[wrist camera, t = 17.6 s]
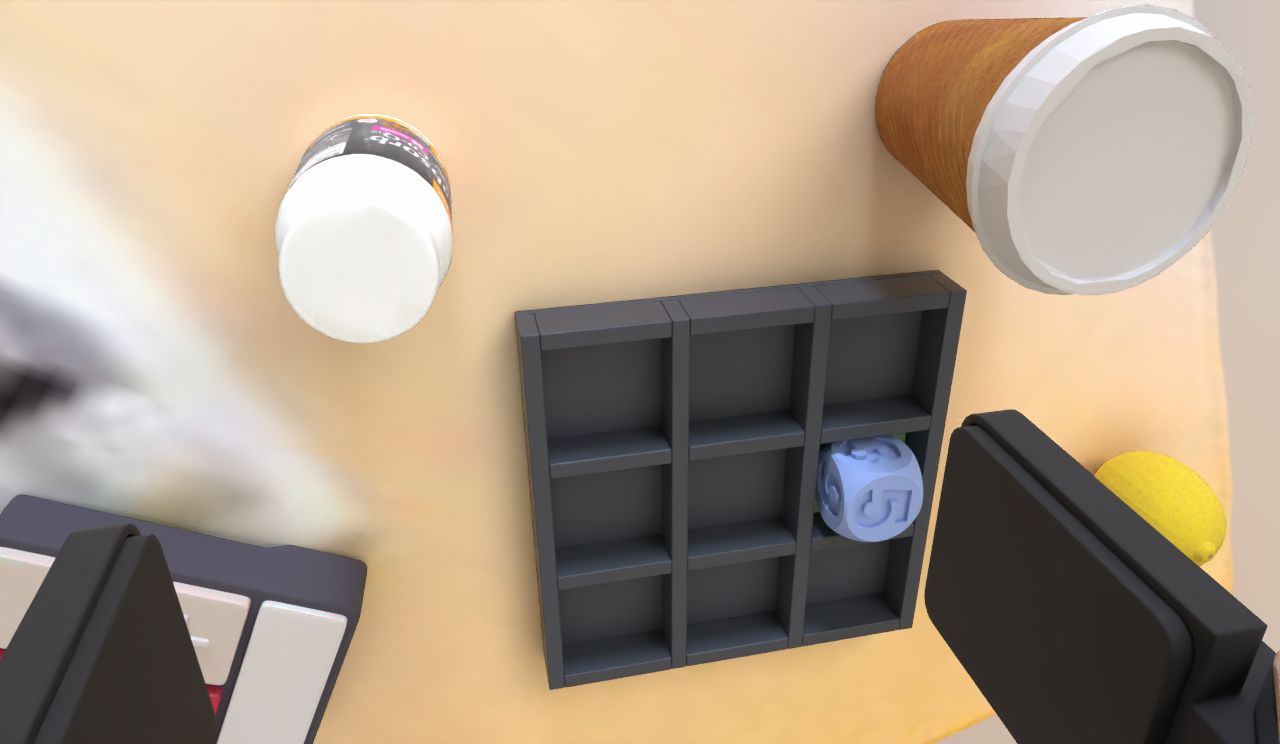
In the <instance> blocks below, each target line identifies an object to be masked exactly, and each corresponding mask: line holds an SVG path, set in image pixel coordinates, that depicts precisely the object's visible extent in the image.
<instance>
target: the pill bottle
mask: <svg viewBox="0 0 1280 744" xmlns="http://www.w3.org/2000/svg"><path fill="white" fill-rule="evenodd" d="M275 239H276V247H277V252H278V256H279V269H278V270H279V278H280V283H281V286H282V290H283V292H284V295H285V297H286V299H287V300H288V302H289V304H290V305H291V307H292V308H293V310H294V311H295V312H296V313H297V315H298V316H299V317H300V318H301V319H302V320H303V321H304V322H306V323H307V324H308V325H309V326H311V327H312V328H314V329H315V330H317V331H319V332H320V333H322V334H324V335H326V336H329V337H331V338H334V339H337V340H341V341H345V342H351V343H365V344H366V343H376V342H381V341H385V340H389V339H392V338H394V337H397V336H399V335H401V334H403V333H405V332H406V331H408V330H409V329H411V328H412V327H414V326H415V325H416V324H417V323H418V322H419V321H420V320H421V319H422V318H423V317H424V315H425V314H426V313H427V311H428V310H429V309H430V307H431V305H432V303H433V301H434V298H435V296H436V293H437V289H438V288H439V287H440V285H441V283H442V282H443V280H444V278H445V276H446V274H447V272H448V269H449V266H450V263H451V258H452V250H453V230H452V212H451V192H450V184H449V178H448V173H447V170H446V167H445V164H444V162H443V160H442V158H441V156H440V154H439V153H438V151H437V150H436V148H435V147H434V145H433V144H432V143H431V142H430V141H429V140H428V139H427V138H426V137H425V136H424V135H423V134H422V133H421V132H419V131H418V130H417V129H415V128H414V127H412V126H411V125H409V124H407V123H405V122H403V121H401V120H398V119H396V118H392V117H388V116H384V115H376V114H363V115H355V116H351V117H347V118H344V119H342V120H339V121H337V122H335V123H333V124H331V125H330V126H328V127H327V128H326V129H324V130H323V131H322V132H321V133H320V134H318V136H317V137H316V138H315V139H314V140H313V142H312V143H311V144H310V146H309V147H308V149H307V150H306V152H305V154H304V156H303V157H302V159H301V162H300V164H299V166H298V169H297V171H296V173H295V176H294V178H293V180H292V182H291V184H290V186H289V188H288V191H287V192H286V194H285V196H284V198H283V200H282V202H281V204H280V207H279V211H278V215H277V221H276V228H275Z"/></svg>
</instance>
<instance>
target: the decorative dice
mask: <svg viewBox="0 0 1280 744" xmlns="http://www.w3.org/2000/svg"><path fill="white" fill-rule="evenodd" d="M815 497H816V502H817V505H818V509H819V511H820V514H821V516H822V518H823V520H824V522H825V523H826V524H827V525H828V526H829V527H830V528H831V529H832V530H834V531H835V532H836V533H838V534H840V535H842V536H844V537H846V538H849V539H852V540H857V541H863V542H878V541H883V540H887V539H889V538H892V537H894V536H896V535H898V534H900V533H901V532H903V531H904V530H905V529H906V528H908V527H909V526H910V525H911V523H912V522H913V521H914V520H915V518H916V517H917V515H918V513H919V512H920V509H921V506H922V502H923V481H922V475H921V471H920V468H919V465H918V462H917V460H916V457H915V455H914V454H913V452H912V451H911V449H910V448H909V447H908V446H907V445H906V444H905V443H903V442H902V441H901V440H899V439H897V438H895V437H893V436H891V435H884V436H877V437H869V438H861V439H854V440H846V441H839V442H831V443H828V444H827V445H825V447H824V448H823V449H822V450H821V451H820V453H819V458H818V470H817V481H816V492H815Z"/></svg>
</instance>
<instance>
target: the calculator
mask: <svg viewBox="0 0 1280 744" xmlns="http://www.w3.org/2000/svg"><path fill="white" fill-rule="evenodd" d="M122 524H133V525H135V526H136V527H137V529H138V530H139V531H140V534H141V536H142V535H149V534H153V535H156V537H157V538H158V539H159V542H160V544H161V547H162V550H163V553H164V556H165V559H166V562H167V565H168V568H169V571H170V575H171V578H172V581H173V584H174V587H175V590H176V593H177V596H178V599H179V603H180V606H181V609H182V612H183V615H184V618H185V621H186V624H187V627H188V631H189V634H190V637H191V640H192V643H193V646H194V649H195V652H196V655H197V659H198V662H199V665H200V668H201V671H202V674H203V677H204V680H205V683H206V686H207V690H208V693H209V696H210V699H211V702H212V705H213V708H214V712H215V718H216V741H215V744H313V742H314V739H315V736H316V734H317V731H318V728H319V726H320V723H321V720H322V717H323V715H324V712H325V709H326V707H327V704H328V701H329V699H330V696H331V693H332V691H333V688H334V685H335V683H336V680H337V677H338V674H339V672H340V669H341V666H342V664H343V661H344V658H345V656H346V653H347V650H348V648H349V645H350V642H351V640H352V637H353V634H354V631H355V629H356V626H357V623H358V621H359V618H360V613H361V608H362V601H363V595H364V588H365V582H366V575H367V566H366V564H365V563H364V562H362V561H359V560H355V559H350V558H346V557H341V556H337V555H332V554H328V553H323V552H319V551H314V550H310V549H305V548H301V547H296V546H292V545H288V546H281V547H273V548H264V547H259V546H254V545H250V544H245V543H240V542H236V541H231V540H227V539H222V538H218V537H213V536H209V535H204V534H200V533H195V532H190V531H186V530H181V529H177V528H172V527H168V526H163V525H159V524H154V523H149V522H145V521H140V520H136V519H131V518H127V517H122V516H118V515H113V514H109V513H104V512H99V511H95V510H90V509H86V508H81V507H77V506H72V505H68V504H63V503H59V502H54V501H49V500H45V499H40V498H36V497H31V496H26V495H19V496H16V497H14V498H13V499H12V500H11V501H10V503H9V504H8V505H7V506H6V508H5V509H4V510H3V511H2V513H1V514H0V659H1V657H2V655H3V654H4V652H5V650H6V648H7V646H8V644H9V643H10V641H11V639H12V637H13V635H14V633H15V632H16V630H17V628H18V626H19V624H20V622H21V621H22V619H23V617H24V615H25V613H26V611H27V610H28V608H29V606H30V604H31V602H32V600H33V599H34V597H35V595H36V593H37V591H38V589H39V588H40V586H41V584H42V582H43V580H44V578H45V577H46V575H47V573H48V571H49V569H50V567H51V565H52V564H53V562H54V560H55V558H56V556H57V554H58V553H59V551H60V549H61V547H62V545H63V543H64V542H65V540H66V538H67V537H68V536H69V534H70V533H71V532H74V531H76V530H84V529H91V528H99V527H107V526H114V525H122Z"/></svg>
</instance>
